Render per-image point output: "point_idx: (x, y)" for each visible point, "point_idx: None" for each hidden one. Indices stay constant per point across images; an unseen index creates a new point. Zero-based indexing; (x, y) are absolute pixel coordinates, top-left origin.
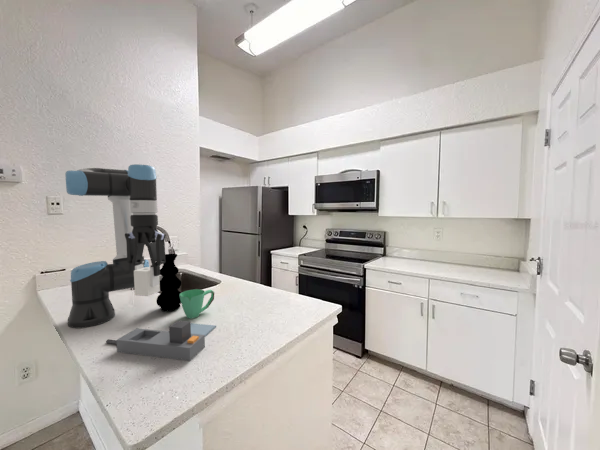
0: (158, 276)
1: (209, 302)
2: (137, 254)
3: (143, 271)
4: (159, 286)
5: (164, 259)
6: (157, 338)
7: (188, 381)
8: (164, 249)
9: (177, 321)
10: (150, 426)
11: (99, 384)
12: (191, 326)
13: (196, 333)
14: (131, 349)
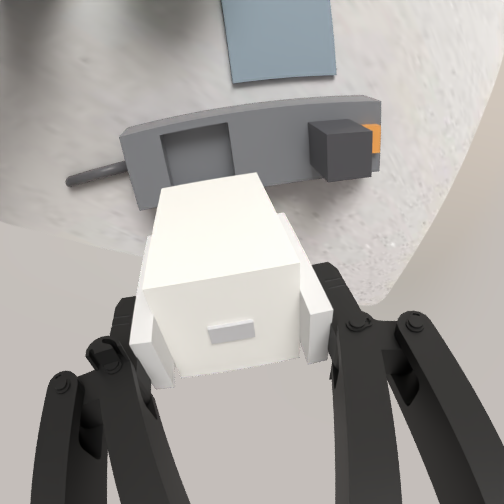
0: (300, 245)
1: None
2: (178, 477)
3: (268, 363)
4: (261, 185)
5: (436, 344)
6: (255, 159)
7: (392, 212)
8: (486, 421)
9: (328, 141)
10: (384, 287)
11: None
12: (244, 2)
13: (300, 41)
14: None
